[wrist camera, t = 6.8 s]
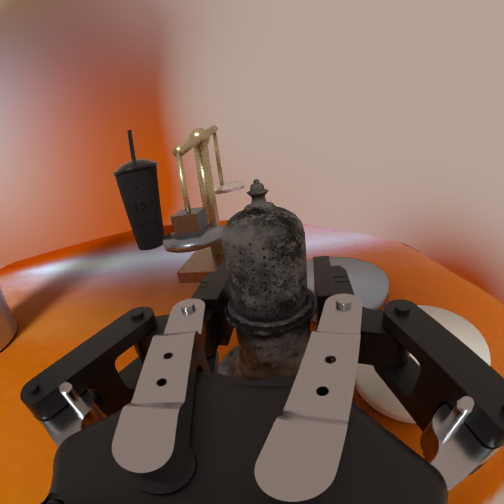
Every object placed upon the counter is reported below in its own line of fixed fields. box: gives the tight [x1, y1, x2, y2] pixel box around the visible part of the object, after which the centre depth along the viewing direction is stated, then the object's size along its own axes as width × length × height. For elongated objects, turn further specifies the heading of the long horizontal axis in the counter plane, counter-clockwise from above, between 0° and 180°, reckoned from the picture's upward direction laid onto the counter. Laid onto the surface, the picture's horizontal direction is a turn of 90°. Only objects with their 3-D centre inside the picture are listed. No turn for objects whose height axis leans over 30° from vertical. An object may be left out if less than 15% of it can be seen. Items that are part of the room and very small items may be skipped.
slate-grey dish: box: [306, 257, 389, 323], centre depth 24 cm, size 10×10×1 cm
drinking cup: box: [113, 130, 164, 250], centre depth 41 cm, size 8×8×20 cm
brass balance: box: [163, 126, 244, 282], centre depth 31 cm, size 7×19×17 cm, turn 171°
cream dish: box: [355, 305, 491, 424], centre depth 14 cm, size 10×10×1 cm
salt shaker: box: [218, 179, 317, 381], centre depth 11 cm, size 6×6×12 cm
